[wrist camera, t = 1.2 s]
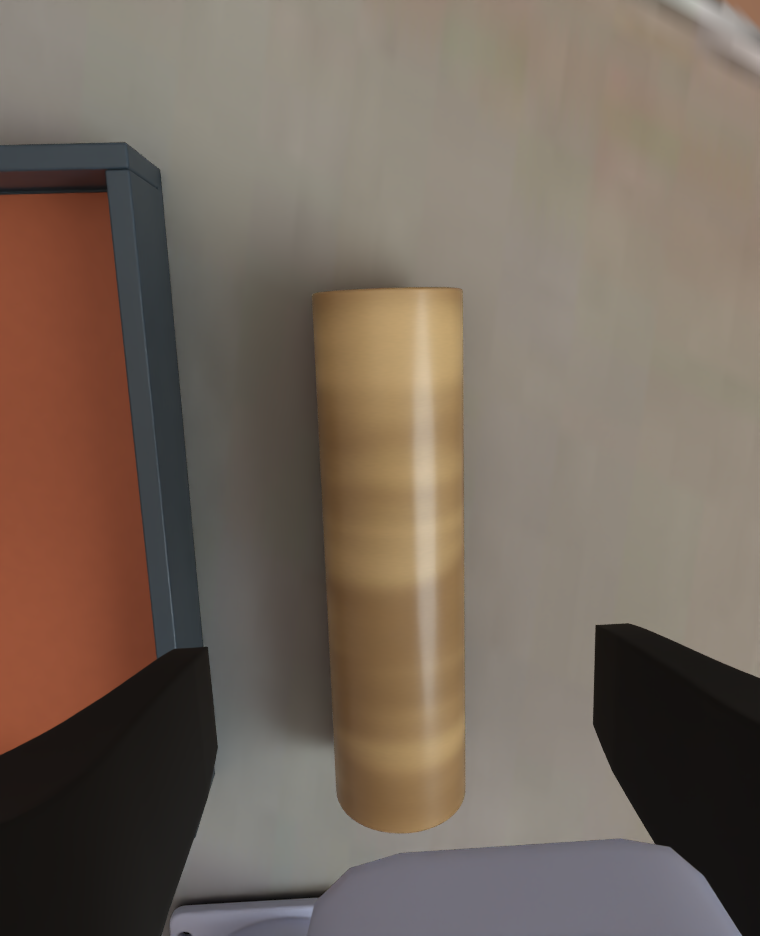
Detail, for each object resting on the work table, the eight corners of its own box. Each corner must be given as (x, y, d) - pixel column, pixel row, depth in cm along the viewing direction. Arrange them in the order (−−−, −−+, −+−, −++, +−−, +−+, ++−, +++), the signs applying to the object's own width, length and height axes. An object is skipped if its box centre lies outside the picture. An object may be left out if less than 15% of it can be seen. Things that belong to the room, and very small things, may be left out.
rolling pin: (452, 744, 24) (477, 828, 20) (335, 753, 23) (337, 840, 19) (448, 292, 20) (477, 285, 17) (313, 296, 20) (309, 290, 16)
